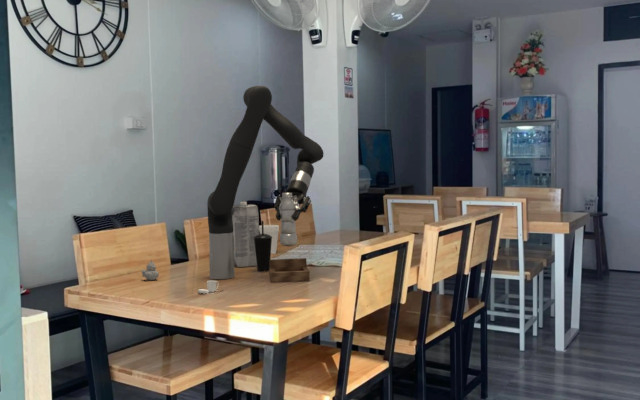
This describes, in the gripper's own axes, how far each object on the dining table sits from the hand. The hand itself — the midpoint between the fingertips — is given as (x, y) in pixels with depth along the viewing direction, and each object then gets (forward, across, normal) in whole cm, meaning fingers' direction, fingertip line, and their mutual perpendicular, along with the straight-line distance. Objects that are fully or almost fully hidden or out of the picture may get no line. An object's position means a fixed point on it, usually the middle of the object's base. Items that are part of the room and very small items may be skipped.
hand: (286, 219), depth 236 cm
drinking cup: (+6, -18, +26) cm, 32 cm away
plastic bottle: (+6, 0, +9) cm, 11 cm away
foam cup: (-23, -38, +56) cm, 71 cm away
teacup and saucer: (+36, -18, -4) cm, 41 cm away
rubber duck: (+28, -49, +3) cm, 57 cm away
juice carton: (+1, -30, +32) cm, 44 cm away
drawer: (+15, 0, +17) cm, 23 cm away
